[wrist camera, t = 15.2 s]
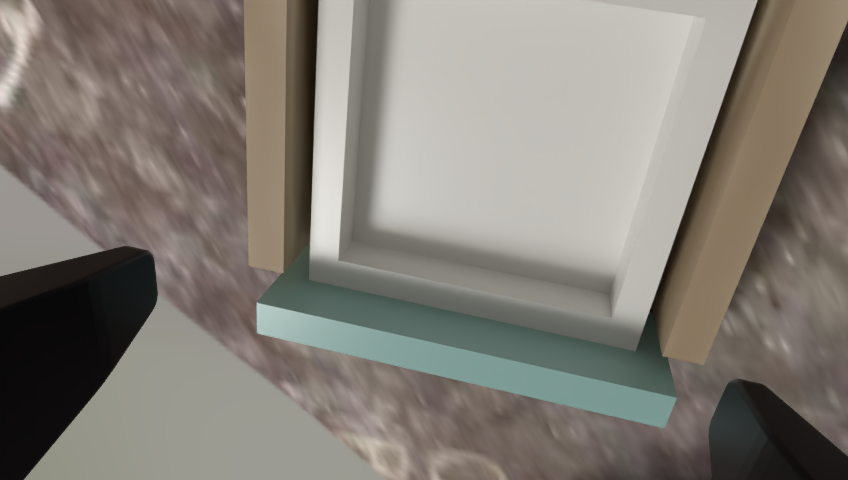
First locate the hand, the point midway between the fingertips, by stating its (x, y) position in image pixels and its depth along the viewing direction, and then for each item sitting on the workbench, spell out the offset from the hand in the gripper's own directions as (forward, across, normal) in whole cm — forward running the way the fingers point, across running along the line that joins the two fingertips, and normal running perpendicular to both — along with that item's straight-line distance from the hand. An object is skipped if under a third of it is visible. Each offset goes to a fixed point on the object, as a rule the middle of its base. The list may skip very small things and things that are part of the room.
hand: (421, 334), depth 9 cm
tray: (+12, 0, 0) cm, 12 cm away
